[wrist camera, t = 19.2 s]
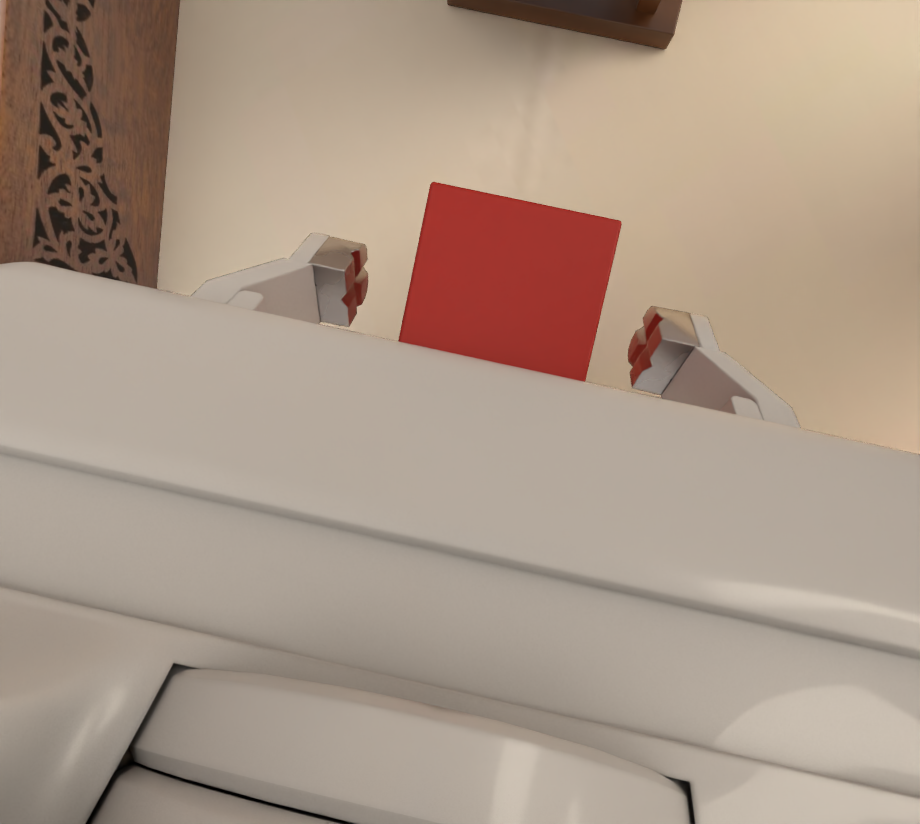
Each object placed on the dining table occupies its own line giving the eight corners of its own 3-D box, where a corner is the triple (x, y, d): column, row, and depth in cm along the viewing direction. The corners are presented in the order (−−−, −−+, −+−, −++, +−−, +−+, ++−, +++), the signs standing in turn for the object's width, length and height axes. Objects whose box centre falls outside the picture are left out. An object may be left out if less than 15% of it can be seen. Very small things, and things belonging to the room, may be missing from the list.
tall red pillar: (526, 583, 12) (638, 215, 9) (364, 548, 12) (422, 169, 9) (508, 391, 30) (543, 251, 27) (446, 377, 30) (473, 237, 27)
